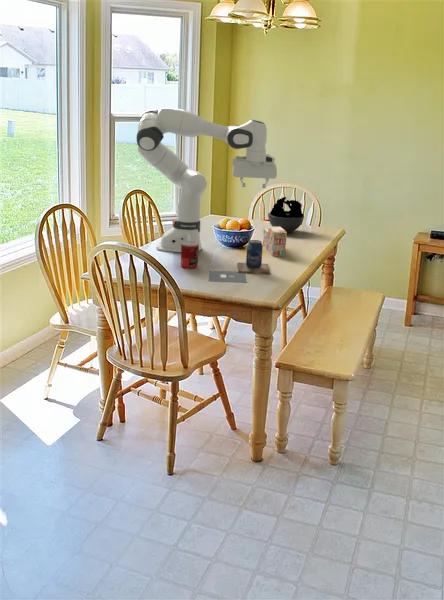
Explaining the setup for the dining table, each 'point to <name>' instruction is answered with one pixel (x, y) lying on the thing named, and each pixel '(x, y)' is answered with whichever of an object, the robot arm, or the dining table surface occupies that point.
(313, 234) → the dining table surface
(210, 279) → the blue gray card
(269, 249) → the stack of blocks
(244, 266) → the walnut coaster
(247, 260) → the soda can
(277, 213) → the coal bowl
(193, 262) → the canned food
